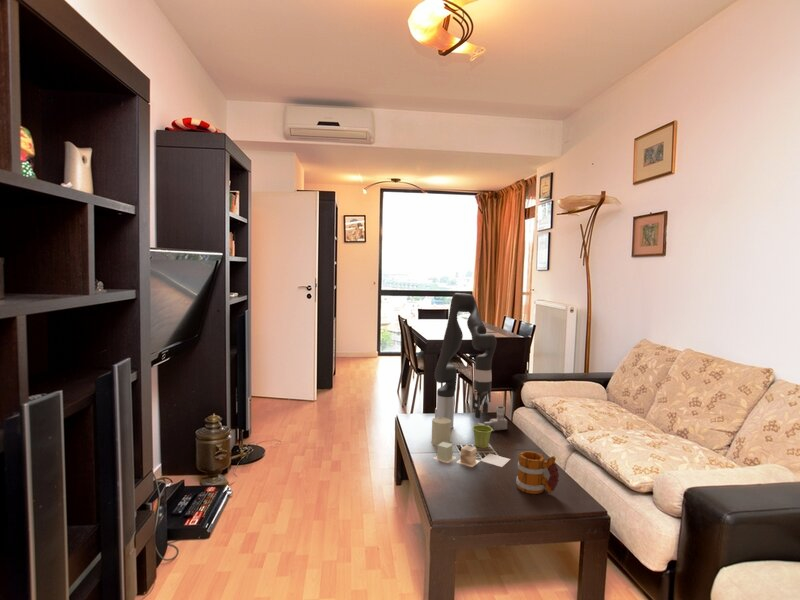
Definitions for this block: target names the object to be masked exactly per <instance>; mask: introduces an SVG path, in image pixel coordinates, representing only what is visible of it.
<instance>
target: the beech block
mask: <svg viewBox="0 0 800 600" xmlns="http://www.w3.org/2000/svg"><path fill="white" fill-rule="evenodd" d="M459 459H460V462H462V463H466V464H469V465H471V464H473V463H474V462H475V461H476V460H477V447H476V446H472V445H471V446H470V445H467V444H465V445H464V446H462V447H461V448H460V458H459Z"/></svg>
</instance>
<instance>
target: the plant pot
mask: <svg viewBox="0 0 800 600" xmlns="http://www.w3.org/2000/svg"><path fill="white" fill-rule="evenodd" d="M489 426H490V425H489ZM489 426H485V425H478V424H476V425H473V426H472V430H473V432H474V433H473V434H474V445H475V447H478V448H482V449H485V448H488V447H489V442H490V438H491V434H492V432H493V431H492V428H491V427H489Z"/></svg>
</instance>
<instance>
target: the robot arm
mask: <svg viewBox="0 0 800 600" xmlns="http://www.w3.org/2000/svg"><path fill="white" fill-rule="evenodd" d="M449 306H450V307H449V313H448V319H447V324H446V327H445V328H446V329H445V333H444V336H443V340H442V341H443V342H442V346H441V350H440V354H439V357H438V360H437V364H436V366H435V369H434V379H435V382H437V383H438V384H444V385H442V386H440V387H439V388H438V389H437V391H436V407H435V409H434V418H436V417H444V418H448V419H450V420H451V427H450V430H451V429H453V428H454V419H455V418H454V416H455V393H456V390H457V389H456V388H457V376H458V374H457V373H458V372H457V368H456V366H455V365H453V364H449V362H450V360H452V358H453V357H454V356H455V355H456V353H458V352H459V350H460V348H461V345H462V342H463V337H464V333H463V330H462V329H461V326H460V324H459V320H458V314H459V313H469V316H468V318H467V321H466V323H467V324H466V325H467V328H468V329H469V332H470V334H471V345H472V347H473V349H474V350H477V351H485V352H484V353H482V354H479V355H477V356H475V361H474V362H475V365H474V373H473V374H474V376H473V378H474V379H473V389H474V390H475V391H476V394H473V401H472V409H474V410H475V413H474V415H475V416H474V417H475V418H476V419H481V417H482V416H481V415H482V414H481V413H483V414H488V413H489V405H490V403H491V397H492V396H491V395H492V394H491V391H492V382H493V381H492V379H493V377H492V376H493V375H492V362H493V358H494V354H495V351H496V347H497V342H498V341H497V338H496V336H495V335H494V334H492V333H487V328H486V326H485V324H484V322H483V321H482V319H481V316H480V312H479V308H478V306H477V302H476V299H475V296H474V295H473V294H471V293H461V292H454V293H453V295H452V297H451V301H450V305H449ZM481 410H482V411H481Z"/></svg>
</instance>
